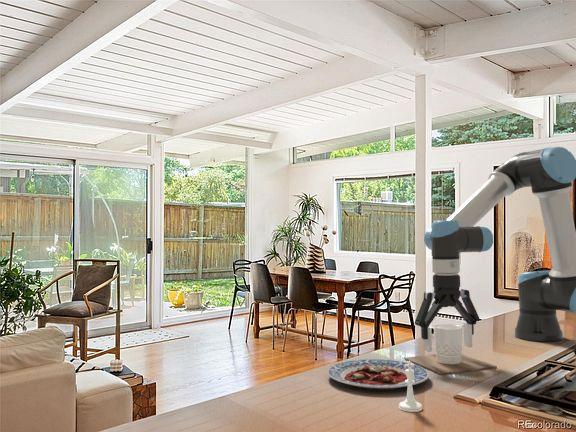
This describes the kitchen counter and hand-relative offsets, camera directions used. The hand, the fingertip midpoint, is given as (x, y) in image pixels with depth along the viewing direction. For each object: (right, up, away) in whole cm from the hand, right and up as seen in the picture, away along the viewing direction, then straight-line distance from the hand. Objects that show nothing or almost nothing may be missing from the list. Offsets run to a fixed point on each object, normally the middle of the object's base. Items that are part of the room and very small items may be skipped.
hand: (448, 348), depth 147 cm
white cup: (0, -4, 0) cm, 4 cm away
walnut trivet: (0, -4, 0) cm, 4 cm away
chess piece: (-19, -4, -36) cm, 41 cm away
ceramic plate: (-23, -5, -14) cm, 27 cm away
